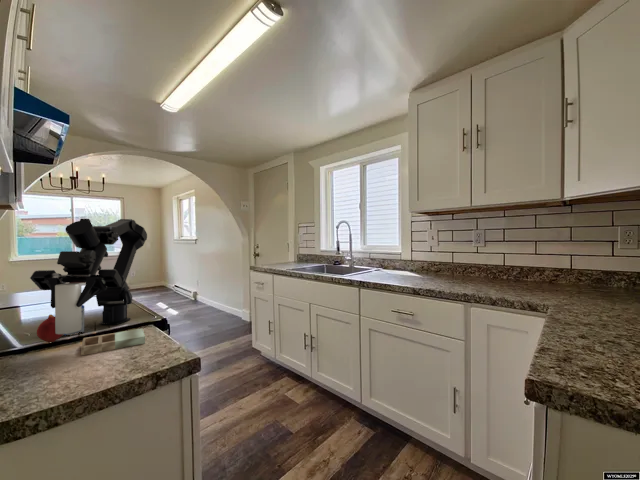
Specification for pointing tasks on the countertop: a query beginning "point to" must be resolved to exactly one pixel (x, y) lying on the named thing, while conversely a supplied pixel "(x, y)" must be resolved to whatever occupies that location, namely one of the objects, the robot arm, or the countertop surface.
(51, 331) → the onion
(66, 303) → the white cylinder
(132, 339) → the board
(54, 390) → the countertop surface
